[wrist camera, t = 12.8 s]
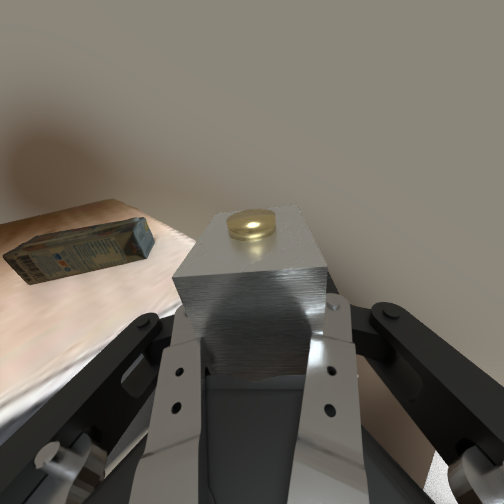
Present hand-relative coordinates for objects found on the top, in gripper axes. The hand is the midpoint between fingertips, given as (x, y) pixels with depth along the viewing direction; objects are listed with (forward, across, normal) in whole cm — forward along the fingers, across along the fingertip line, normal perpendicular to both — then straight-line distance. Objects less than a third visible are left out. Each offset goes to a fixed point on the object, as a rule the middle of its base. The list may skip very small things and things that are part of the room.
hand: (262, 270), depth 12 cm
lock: (-3, 0, +6) cm, 7 cm away
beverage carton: (+18, +32, +8) cm, 38 cm away
